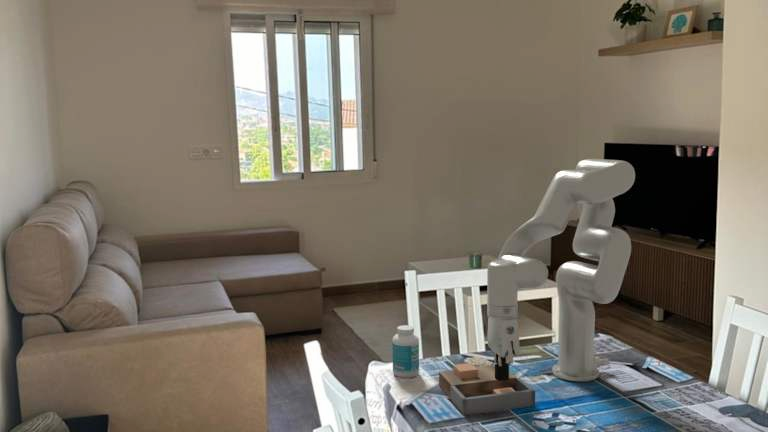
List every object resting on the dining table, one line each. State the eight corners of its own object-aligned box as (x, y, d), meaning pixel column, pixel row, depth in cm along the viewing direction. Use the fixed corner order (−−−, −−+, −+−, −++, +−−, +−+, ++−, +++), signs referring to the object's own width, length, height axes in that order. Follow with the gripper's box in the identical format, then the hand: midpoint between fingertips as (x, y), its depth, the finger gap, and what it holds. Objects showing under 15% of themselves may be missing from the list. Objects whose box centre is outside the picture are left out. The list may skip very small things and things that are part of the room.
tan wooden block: (501, 378, 190) (501, 364, 190) (517, 392, 181) (517, 377, 180) (439, 385, 186) (439, 371, 185) (452, 400, 176) (451, 385, 176)
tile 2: (519, 394, 173) (519, 402, 173) (511, 387, 177) (511, 394, 178) (500, 397, 171) (500, 404, 172) (492, 389, 176) (492, 397, 176)
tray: (519, 392, 181) (519, 377, 180) (535, 405, 172) (535, 390, 172) (450, 400, 176) (450, 385, 175) (463, 415, 167) (463, 399, 167)
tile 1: (470, 370, 186) (470, 362, 186) (477, 376, 181) (477, 369, 181) (453, 372, 185) (453, 364, 185) (460, 378, 180) (460, 371, 180)
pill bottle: (417, 379, 191) (416, 332, 189) (390, 378, 192) (389, 331, 190) (421, 369, 198) (420, 324, 196) (395, 368, 199) (394, 323, 197)
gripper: (529, 316, 169) (528, 388, 171) (503, 301, 183) (503, 367, 186) (500, 319, 167) (500, 392, 169) (477, 303, 181) (477, 370, 184)
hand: (501, 379), depth 177 cm, fingers closed
